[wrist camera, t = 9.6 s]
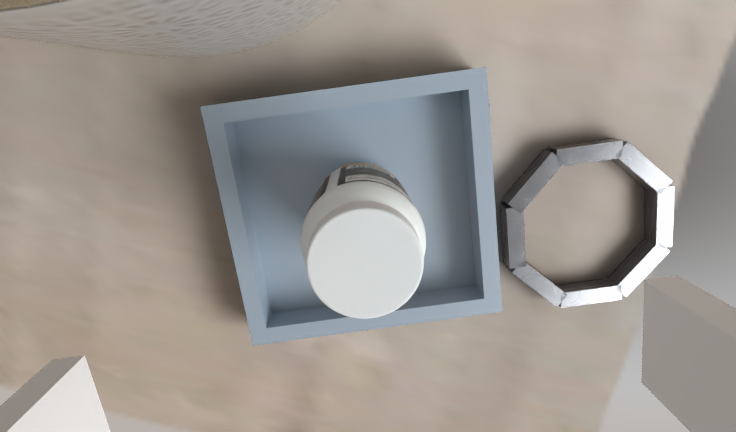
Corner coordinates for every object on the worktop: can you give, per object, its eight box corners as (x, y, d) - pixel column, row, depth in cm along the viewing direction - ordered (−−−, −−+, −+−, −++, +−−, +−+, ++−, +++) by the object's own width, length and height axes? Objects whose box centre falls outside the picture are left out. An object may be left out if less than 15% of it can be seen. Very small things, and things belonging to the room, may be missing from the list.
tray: (214, 105, 26) (199, 106, 24) (474, 69, 26) (486, 66, 24) (261, 325, 30) (252, 345, 27) (490, 294, 30) (502, 311, 27)
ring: (496, 154, 27) (503, 156, 26) (663, 131, 27) (676, 132, 26) (506, 306, 30) (512, 314, 29) (658, 285, 30) (670, 293, 29)
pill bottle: (354, 270, 28) (355, 358, 19) (293, 201, 27) (260, 257, 18) (427, 214, 28) (466, 276, 18) (367, 140, 26) (375, 164, 17)
